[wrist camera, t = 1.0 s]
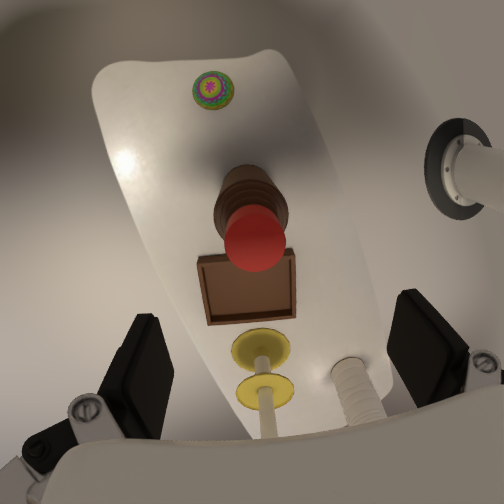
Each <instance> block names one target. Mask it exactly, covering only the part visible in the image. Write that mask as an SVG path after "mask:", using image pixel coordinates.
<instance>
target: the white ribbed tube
mask: <svg viewBox="0 0 504 504" xmlns="http://www.w3.org/2000/svg"><path fill="white" fill-rule="evenodd" d="M331 375H332V379H333V382H334V384H335V387H336V390H337V392H338V396H339V399H340V402H341V405H342V407H343V411H344V414H345V416H346V421H347V423H348V426H349V427H350V426H354V425H359V424H363V423H367V422H372V421H376V420H380V419H384V418H387V415H386V413H385V411H384V408H383V405H382V403H381V401H380V399H379V397H378V394H377V393H376V390H375V388H374V386H373V384H372V381H371V379H370V378H369V375H368V373H367V371H366V369H365V366H364V364H363V362H362V361H361V360H360V359H358V358H347V359H345V360H342V361H340V362H339V363H337V364H336V366H335V367H334V368H333V370H332V374H331Z"/></svg>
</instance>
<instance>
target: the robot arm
mask: <svg viewBox="0 0 504 504" xmlns="http://www.w3.org/2000/svg"><path fill="white" fill-rule="evenodd" d="M441 179H442V184H443V187H444V189H445V191H446V193H447V195H448V196H449V198H450V199H451V200H452V201H454V202H455V203H457V204H459V205H462V206H470V205H473V204H475V203H476V202H477V203H480V204H482V205H484V206H487V207H489V208H491V209H494V210H496V211H498V212H500V213H503V214H504V150H501V149H496V148H491V147H485V146H483V145H482V143H481V142H480V141H479V140H478V139H477V138H475V137H473V136H470V135H459V136H456V137H454V138H453V139H452V140H451V141H450V142H449V143H448V145H447V147H446V148H445V150H444V153H443V156H442V161H441ZM468 349H469V346H468V345H467V344H466V343H465V341H464V340H463V339H462V338H461V337H460V336H459V335H458V333H457V332H456V331H455V330H454V329H453V328H452V327H451V326H450V324H449V323H448V322H447V321H446V320H445V319H444V318H443V317H442V316H441V314H440V313H439V312H438V311H437V310H436V309H435V308H434V307H433V306H432V305H431V304H430V303H429V302H428V301H427V300H426V298H425V297H424V296H423V295H422V294H421V293H420V292H419V291H418V290H417V289H409V290H403V291H402V292H401V294H399V295H398V297H397V302H396V307H395V312H394V317H393V321H392V326H391V331H390V335H389V339H388V343H387V353H388V355H389V357H390V359H391V361H392V362H393V364H394V366H395V368H396V369H397V371H398V373H399V375H400V377H401V378H402V380H403V382H404V384H405V386H406V387H407V389H408V391H409V393H410V395H411V397H412V398H413V400H414V402H415V404H416V406H417V408H418V409H415V410H412V411H409V412H405V413H402V414H398V415H395V416H391V417H387V418H384V419H380V420H376V421H372V422H367V423H363V424H359V425H354V426H350V427H345V428H340V429H334V430H329V431H323V432H317V433H310V434H303V435H296V436H287V437H278V438H268V439H255V440H238V441H173V440H160V437H161V432H162V428H163V423H164V418H165V414H166V408H167V404H168V400H169V395H170V391H171V386H172V382H173V378H174V368H173V365H172V362H171V359H170V356H169V352H168V349H167V346H166V343H165V339H164V336H163V333H162V329H161V326H160V322H159V319H158V317H154V315H153V314H152V313H147V314H137V316H136V318H135V320H134V321H133V323H132V325H131V327H130V329H129V331H128V333H127V335H126V338H125V339H124V341H123V344H122V346H121V347H119V348H118V350H117V352H116V354H115V356H114V358H113V360H112V362H111V364H110V366H109V369H108V371H107V373H106V375H105V377H104V379H103V381H102V384H101V386H100V388H99V390H98V393H97V394H93V393H87V394H83V395H80V396H78V397H77V398H75V399H74V400H73V401H72V402H71V403H70V405H69V407H68V418H67V419H65V420H63V421H61V422H59V423H57V424H55V425H53V426H52V427H49V428H47V429H45V430H43V431H41V432H39V433H37V434H35V435H33V436H31V437H30V438H28V439H27V440H26V441H25V443H24V445H23V447H22V456H21V457H20V458H19V457H18V456H16V457H15V458H13V459H12V460H11V461H10V462H9V463H8V464H6V465H5V466H4V467H3V468H2V469H1V470H0V504H504V370H502V369H501V363H500V360H499V358H498V357H497V356H496V355H495V354H493V353H492V352H490V351H487V350H476V351H474V352H472V353H471V354H470V353H469V352H468Z"/></svg>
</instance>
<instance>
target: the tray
mask: <svg viewBox="0 0 504 504" xmlns="http://www.w3.org/2000/svg"><path fill="white" fill-rule="evenodd" d="M197 270H198V276H199V281H200V287H201V293H202V298H203V303H204V309H205V314H206V319H207V324H208V326H211V325H226V324H239V323H251V322H263V321H273V320H283V319H292V318H296V265H295V254H294V251H293V249H285V251H284V253H283V256H282V257H281V259H280V260H279V261H278V262H277V263H276V264H275V265H274V266H273V267H271V268H269V269H267V270H264V271H259V272H250V271H245V270H242V269H240V268H238V267H237V266H235V265H234V264H233V263H232V262H231V261H230V259H229V258H228V256H227V255H217V256H206V257H199V258H198V261H197Z"/></svg>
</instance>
